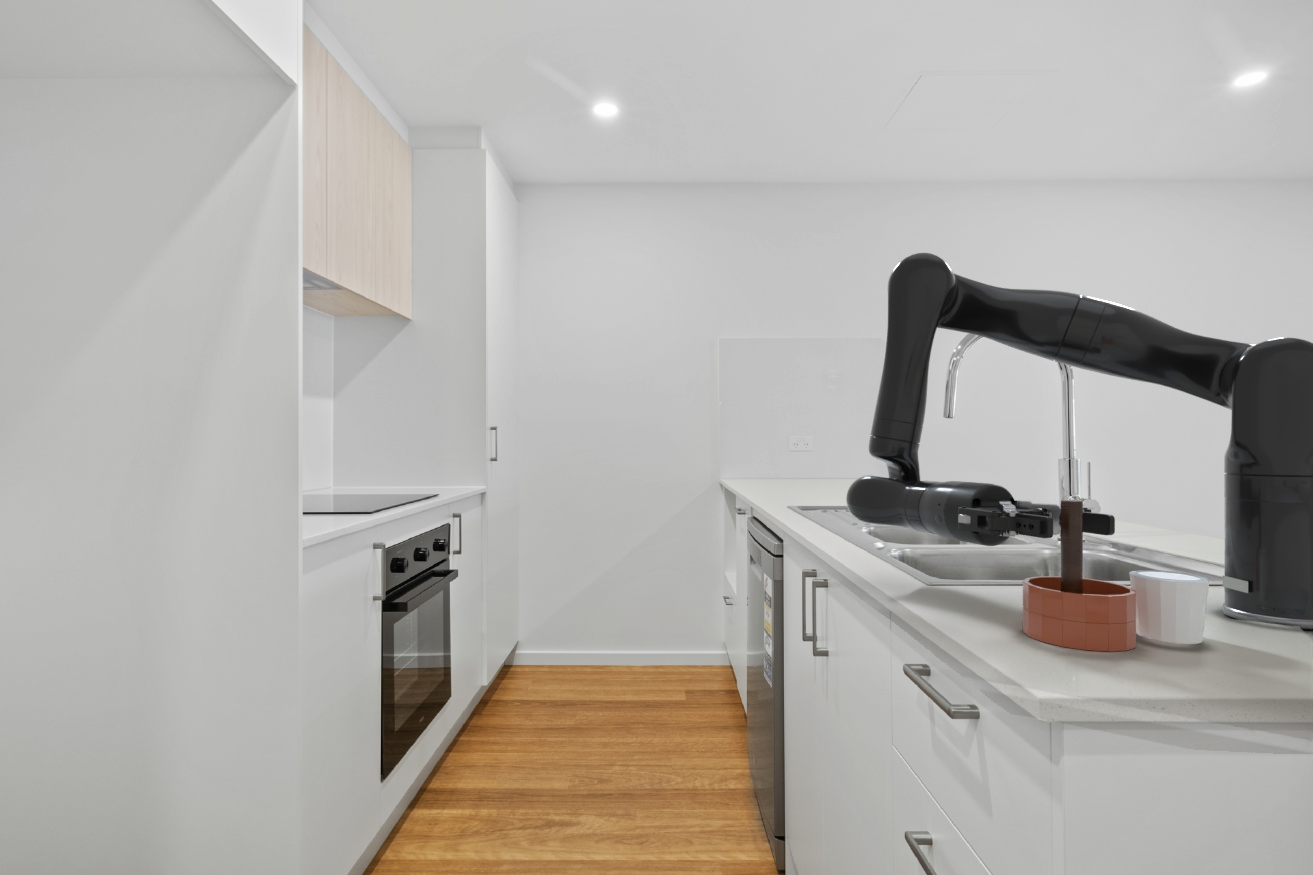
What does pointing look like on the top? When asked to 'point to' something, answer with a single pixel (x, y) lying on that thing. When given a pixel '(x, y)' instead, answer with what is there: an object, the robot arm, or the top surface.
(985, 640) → the top surface
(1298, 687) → the top surface
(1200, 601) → the white cylinder
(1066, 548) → the brown wooden pestle
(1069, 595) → the bowl
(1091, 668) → the top surface
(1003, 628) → the top surface
